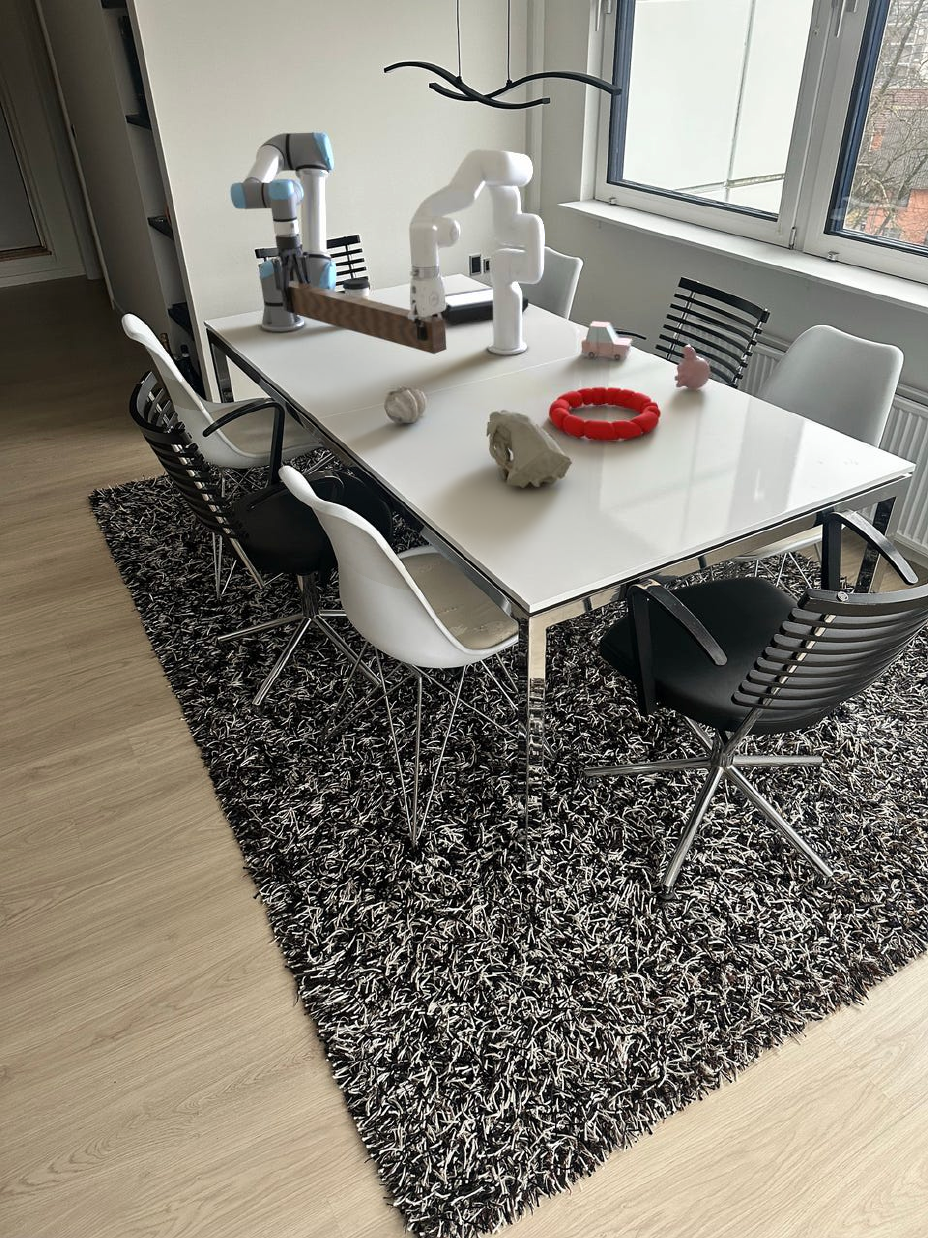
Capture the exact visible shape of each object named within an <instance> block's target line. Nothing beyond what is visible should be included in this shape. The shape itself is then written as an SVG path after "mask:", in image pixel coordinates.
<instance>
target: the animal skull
mask: <svg viewBox="0 0 928 1238" xmlns="http://www.w3.org/2000/svg"><path fill="white" fill-rule="evenodd" d="M486 425H487V427H486V435H485V436H486V438H487V437H489V438H488V440H489V444H488V445H489V446H488V450H489V454H490V456H491V457H492V458H493V459H494V460H495V462H496V464H497V466H499V468H500V470H501V471H502V472H501V478H502V479H507V480H506V484H507V486H517V487H518V486H519V488H523V489H524V488H526V486H527V485H529V483H531V485H533V486H534V487H536V488H540V485H541V484H542V482H544V483H549V484H550V485H553V484H555V483H556V482H557V480H561V479H563V478H565V476H566V474H567V472H568V471H569V469H570V467H571V466H572V464H573V462H572V461H571V458H570V457H568V456H567V455H565V453H564V451H562V449H561V448H560V446H559V444H557V443H556V439H555V438H554V436H553V435H551V434H550V433H548V432H547V431H546V430H545V429H544V428H542V427H541V426H539V425H538V424H537V423H536V424H535V422H534V421H533V419H532V418H531V417H530V416H529V415H527V414H524V413H519V412H515V411H509V410H507V409H502V410H500V411H499V410H495V411H492V412H491V414H489V421H487V423H486ZM511 453H512V454H511ZM511 455H512V457H513V458H512V460H511ZM507 474H508V475H507Z"/></svg>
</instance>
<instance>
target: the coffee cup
mask: <svg viewBox="0 0 928 1238" xmlns="http://www.w3.org/2000/svg"><path fill="white" fill-rule="evenodd" d="M370 287H371V283H370V282H369V279H367V278H365V277H351V278H347V279H345V280H344V281H343V285H342V288H343V290H344V294H347V295H351V296H355V297H359V298H363V299H367V300H370Z"/></svg>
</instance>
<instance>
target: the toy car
mask: <svg viewBox="0 0 928 1238" xmlns="http://www.w3.org/2000/svg"><path fill="white" fill-rule="evenodd" d="M632 345H633V338H627V337H619V335H618V333H617V332H616V331H615V328H614V327H613V325H612V323H611V322H610V321H609V322H608V321H598V320H597V321H595V320H593V321H592V322H591V323H590V324H589V325H588V330H587V333H586V336H585V337H584V338H583V339H582V341H581V352H580V353H581V355H586V356H588V358H589V359H593V358H595V357H597V356H599V357H609V358H610V357H612V358H613V359H614V360H615V361H619V360H621V359H626V358H627V357H628V356H629V354H630V353H631V346H632Z"/></svg>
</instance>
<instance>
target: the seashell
mask: <svg viewBox="0 0 928 1238" xmlns="http://www.w3.org/2000/svg"><path fill="white" fill-rule="evenodd" d="M383 408H384V411H385V412H384V413H385V414H386V416H387V418H388V419H389V420H390V421H392V422H393V423H396V424H403V423H405V424H413V423H417V422H418V421H419V420H420V419H421V418H422V416H423V415H424V413H425V411H426V409H427V398H426V396H425V393H424V391H422V390H419V389H418V388H417V387H408V386H399V387H397V389H396V390H390V391H388V393H387V395H386V397H385V400H384V405H383Z"/></svg>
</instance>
